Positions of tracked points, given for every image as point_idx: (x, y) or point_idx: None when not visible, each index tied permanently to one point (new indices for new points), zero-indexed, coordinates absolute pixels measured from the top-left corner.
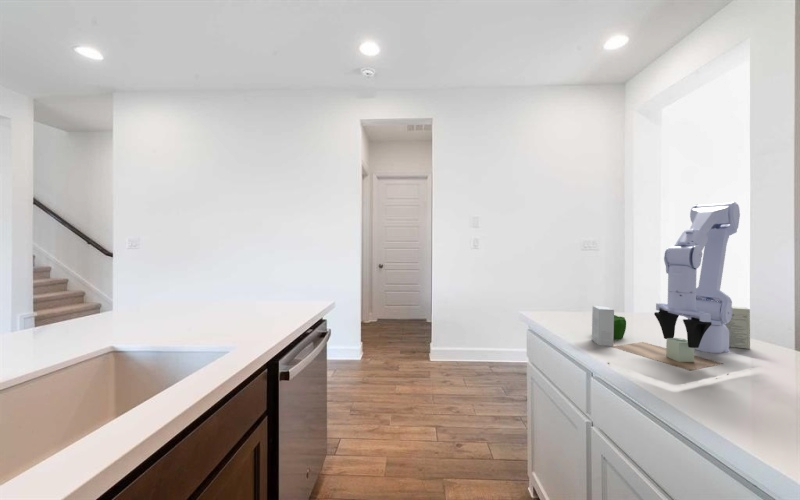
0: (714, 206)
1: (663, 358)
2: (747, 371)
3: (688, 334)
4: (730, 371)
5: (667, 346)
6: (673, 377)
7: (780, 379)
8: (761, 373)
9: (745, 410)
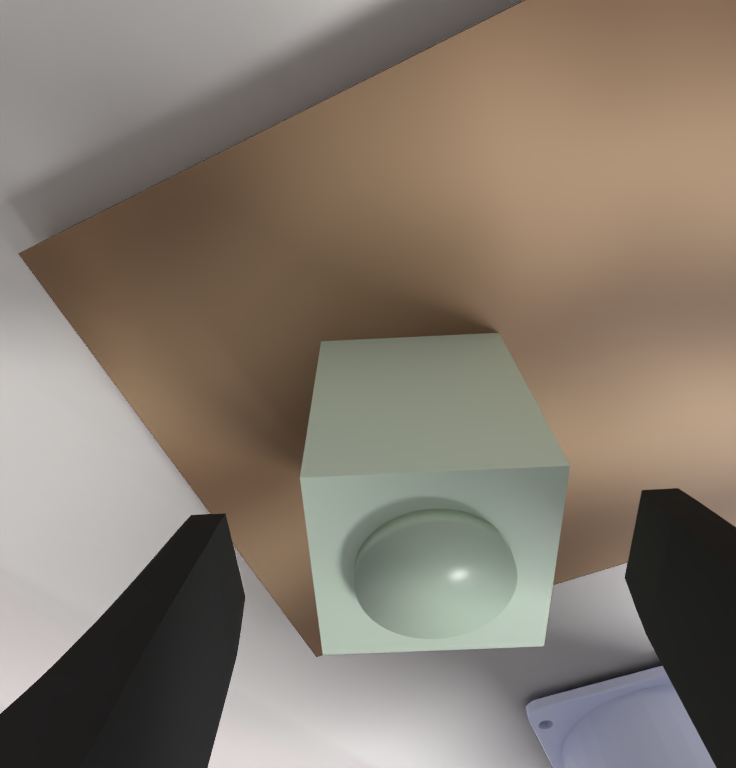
0: None
1: (427, 247)
2: (270, 699)
3: (99, 669)
4: (251, 617)
5: (511, 394)
6: None
7: None
8: (244, 735)
9: None
